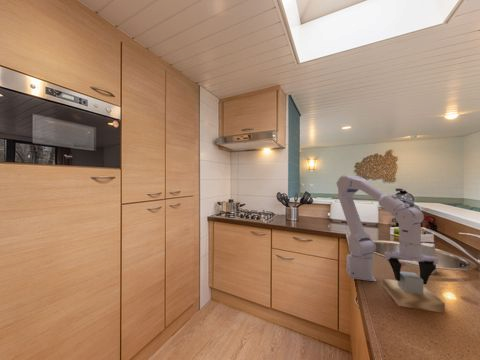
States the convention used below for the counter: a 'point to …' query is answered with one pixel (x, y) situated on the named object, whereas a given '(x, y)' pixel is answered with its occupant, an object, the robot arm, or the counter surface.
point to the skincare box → (428, 251)
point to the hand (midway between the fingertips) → (410, 281)
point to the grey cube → (411, 283)
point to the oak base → (413, 297)
